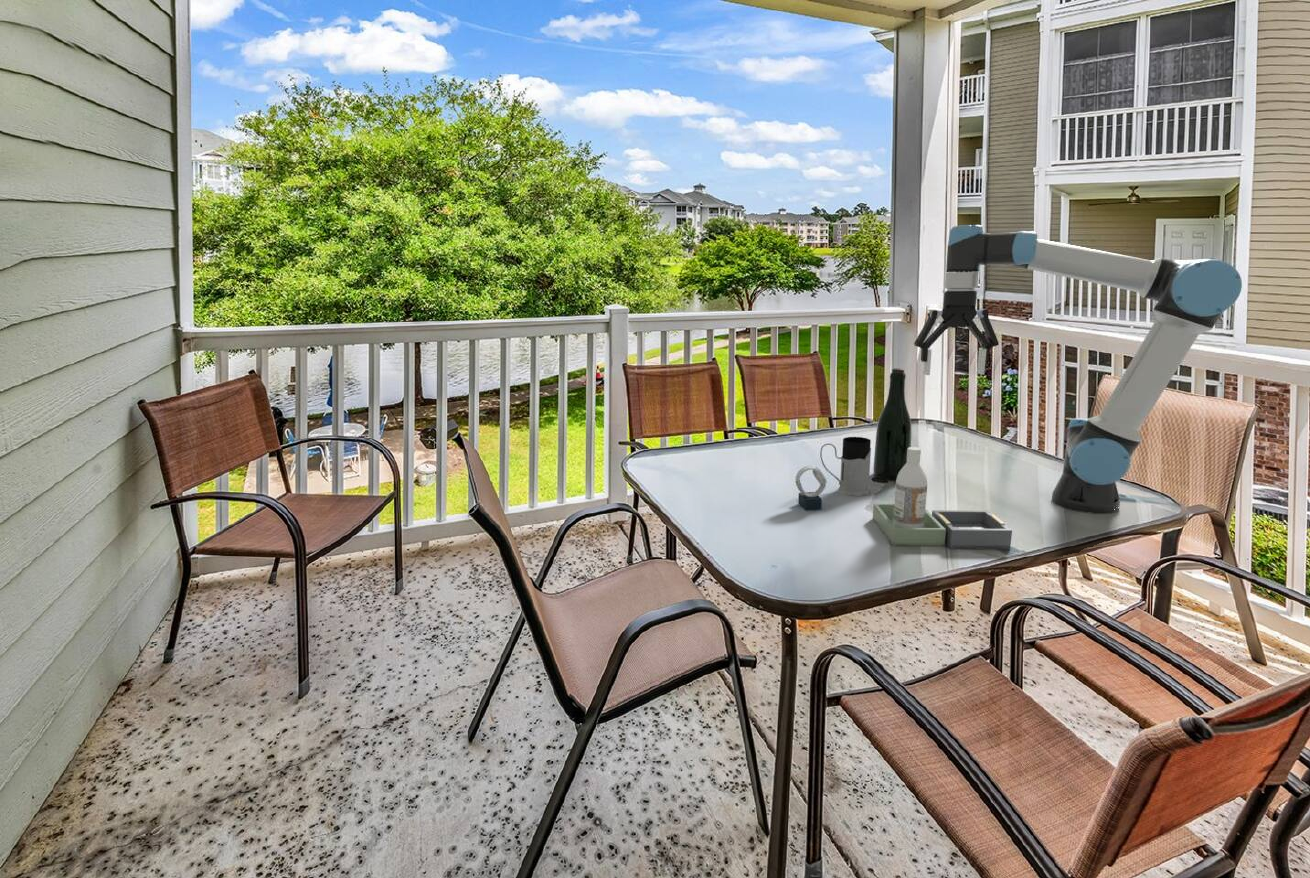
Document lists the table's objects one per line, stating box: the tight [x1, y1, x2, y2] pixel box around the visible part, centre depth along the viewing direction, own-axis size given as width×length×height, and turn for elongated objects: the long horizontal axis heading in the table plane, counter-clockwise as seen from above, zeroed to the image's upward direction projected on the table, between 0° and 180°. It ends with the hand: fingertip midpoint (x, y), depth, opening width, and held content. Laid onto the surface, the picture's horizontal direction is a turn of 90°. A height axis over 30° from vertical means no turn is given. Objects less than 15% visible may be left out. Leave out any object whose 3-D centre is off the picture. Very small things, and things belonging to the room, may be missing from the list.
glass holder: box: [819, 436, 872, 497], centre depth 192 cm, size 9×14×15 cm, turn 80°
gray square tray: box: [931, 509, 1013, 550], centre depth 157 cm, size 13×13×5 cm
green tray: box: [872, 503, 946, 547], centre depth 162 cm, size 12×18×4 cm, turn 177°
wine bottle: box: [872, 367, 913, 481], centre depth 203 cm, size 10×10×33 cm
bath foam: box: [893, 446, 928, 528], centre depth 160 cm, size 7×7×20 cm
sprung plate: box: [951, 523, 988, 529], centre depth 158 cm, size 10×10×1 cm
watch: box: [794, 465, 828, 512], centre depth 180 cm, size 6×8×11 cm
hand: (953, 374), depth 175 cm, fingers open, 13 cm apart
